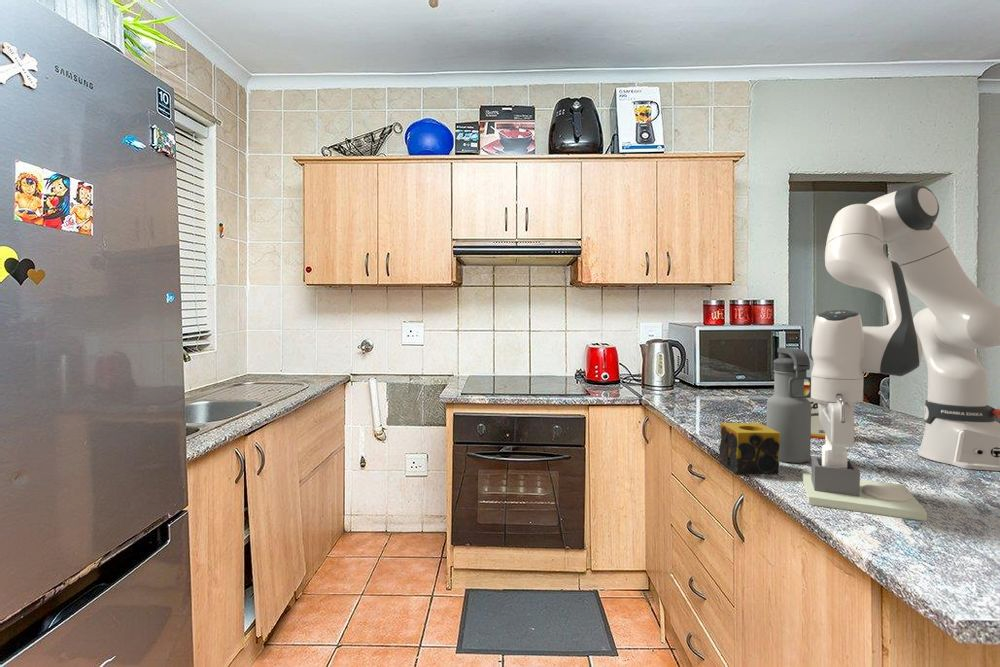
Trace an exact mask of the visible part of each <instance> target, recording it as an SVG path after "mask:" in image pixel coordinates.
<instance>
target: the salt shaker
mask: <svg viewBox="0 0 1000 667" xmlns="http://www.w3.org/2000/svg"><path fill="white" fill-rule="evenodd" d="M825 436H826V435H825ZM831 452H832V445H831V443H830V441H829V439H828V438H827V436H826V437H825V444H823V445H822V446H821V458H822V466H828V467H837V468H846V469H847V460H848V448H846V447H845V449H844V453H843V462H842V463H834V462H833V461H832V459H831Z"/></svg>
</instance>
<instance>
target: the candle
mask: <svg viewBox="0 0 1000 667" xmlns="http://www.w3.org/2000/svg"><path fill="white" fill-rule="evenodd" d="M719 427H720V428H719V429H720V430H719V431H720V433H719V434H720V443H719V447H718V452H719V453H718V454H719V455H718V462H719V463H720V464H721V465H722V466H724V467H725V468H727V469H728V470H730V471H731V472H733V473H734V474H736V475H758V474H765V475H779V473H780V461H779V447H780V433H779V432H777V431H775V430H773V429H771V428H769V427H767V425H764V424H762V423H760V422H720V424H719Z"/></svg>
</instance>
